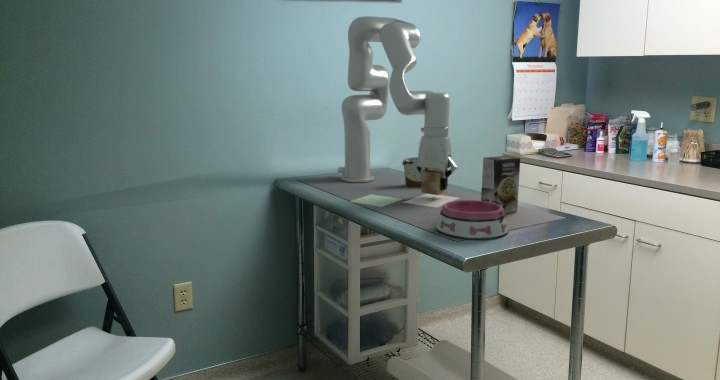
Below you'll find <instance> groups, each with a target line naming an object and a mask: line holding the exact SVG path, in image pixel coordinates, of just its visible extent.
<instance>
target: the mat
mask: <svg viewBox="0 0 720 380" xmlns="http://www.w3.org/2000/svg"><path fill="white" fill-rule="evenodd" d="M402 200H403V199H402V198H397V197H390V196H386V195H385V196H384V195H383V196H382V195H379V194H378V195H377V194H368V195H365V196H363V197H358V198H356V199H352V200H350V201H349V203H353V204H354V203H355V204H359V205H366V206H372V207H373V206H374V207H378V208H383V207H386V206H389V205H391V204H395V203H397V202H400V201H402Z"/></svg>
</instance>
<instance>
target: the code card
mask: <svg viewBox="0 0 720 380" xmlns="http://www.w3.org/2000/svg"><path fill="white" fill-rule="evenodd" d="M458 200H460V197H457V196H456V197H455V196H449V195H442V194H440V195H433V194H427V193H423V194H422V195H419V196H416V197H413V198H411V199H408V200H406V201H402V204H403V203H405V204H411V205H418V206H424V207H429V208H431V207H432V208H435V209H437V208H439V207H443V205H444V204H445V203H447V202H451V201H458Z"/></svg>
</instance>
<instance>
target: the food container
mask: <svg viewBox="0 0 720 380" xmlns="http://www.w3.org/2000/svg"><path fill="white" fill-rule="evenodd" d="M417 158H418V156H417V157H406V158H403V160H402V163H401V166H403V172H404V184H405V187H406V188H421V175H420V172H419V171H418V170H417V168H416V167H415V165H414V164H413V162H414V161H415V160H416V159H417Z"/></svg>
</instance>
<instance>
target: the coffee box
mask: <svg viewBox="0 0 720 380" xmlns="http://www.w3.org/2000/svg"><path fill="white" fill-rule="evenodd" d="M520 171H521V158H520V157H517V156H509V155H500V156H489V157H487V156H485V157H483V160H482V176H481V190H480V191H481V194H480V195H481V196H480V201H486V202H492V203H496V204H499V205H501V206H502V207H503V210H504V213H505V214H512V213H517V212H518V207H519V206H518V205H519V204H518V203H519V202H518V201H519V190H520V188H519V186H520V174H521V172H520Z"/></svg>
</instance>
